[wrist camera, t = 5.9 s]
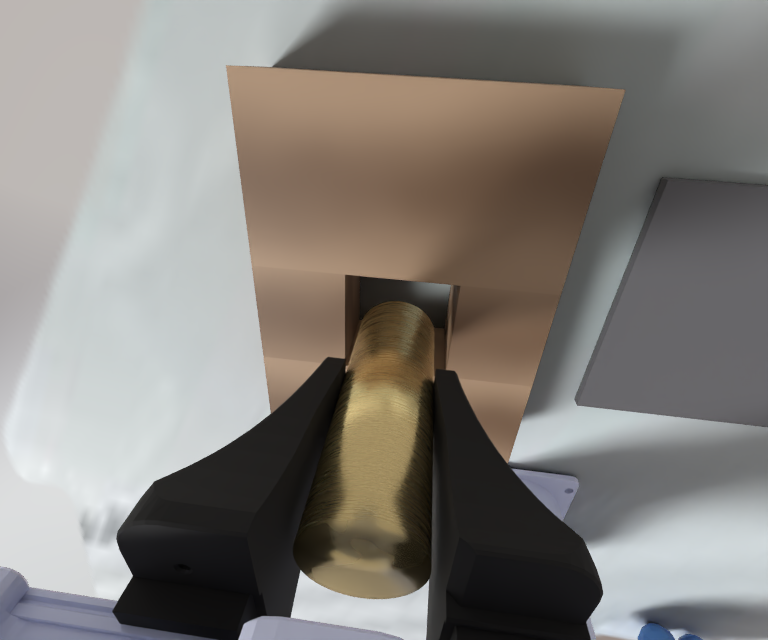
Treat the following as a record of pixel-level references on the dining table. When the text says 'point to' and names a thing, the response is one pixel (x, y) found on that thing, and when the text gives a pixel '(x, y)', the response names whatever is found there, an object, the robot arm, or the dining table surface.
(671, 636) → the blue thick lobed disc
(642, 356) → the rubber mat
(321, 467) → the brass pin
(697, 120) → the dining table surface
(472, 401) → the walnut block
